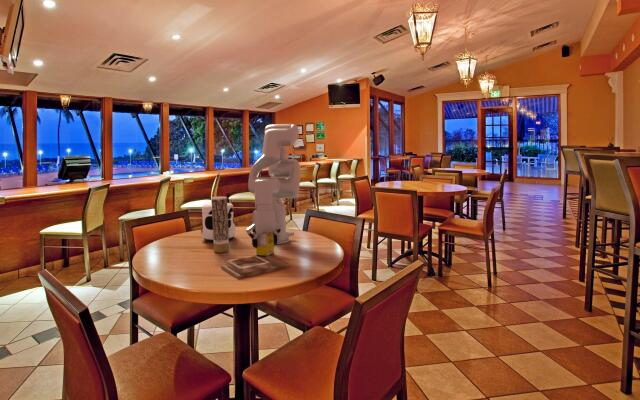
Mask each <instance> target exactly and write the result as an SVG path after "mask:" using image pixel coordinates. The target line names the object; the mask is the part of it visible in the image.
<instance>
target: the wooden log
mask: <svg viewBox="0 0 640 400" xmlns="http://www.w3.org/2000/svg"><path fill="white" fill-rule="evenodd" d="M211 203H212V219H213V240H214V241H213V251H214V252H215V253H218V254H219V253H220V254H221V253H227V252H229V250H230V242H229V241H230V239H229V234H228V210H227V203H228V197H227V196H212V197H211Z"/></svg>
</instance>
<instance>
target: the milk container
mask: <svg viewBox="0 0 640 400" xmlns="http://www.w3.org/2000/svg"><path fill="white" fill-rule="evenodd" d="M227 210H228V234H229V240H232V239H233V238H235V236H236V233H237V229H236V228H237V227H236V225H235V220H234V205H233V204H232V203H229V202H227ZM201 213H202V214H201V215H202V225H201V229H200V231H201V232H200V233H201V236H202V239H203V240H205V241H208V242H214V240H213V219H212V202H211V203H206V204H203V205H202V206H201Z"/></svg>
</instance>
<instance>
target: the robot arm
mask: <svg viewBox="0 0 640 400" xmlns="http://www.w3.org/2000/svg"><path fill="white" fill-rule="evenodd" d="M299 135H300V132H299V127H298V126H297V124H295V123H274V124H268V125H266V126H265V128H264V136H263V143H262V152H261V157H259V158H258V159H257V160H256V161H255V163H254V164H253V165H252V166H251V168H250V171H249V175H248V184H247V185H248V186H247V187H248V191H249V192H250V193H251V194H253V195H254V208H255V210H253V212H252V219H251V225H250V226H249V227H247V228H246V229H245V232H246V234H247V235H248V236H249V237H250V238H251V245H252V248H255V249H256V248H257V247H258V246H257V239H256V238H257V236H258V234H262V233H264V232H270V231H271V232H273V238H274V245H282V244H283V245H285V244H288V243H289V242H290V238H289V237H294V236H295V232H294V231H292V232H290V231H289V232H288V231H286V229H287V228H286V206H285V204H284V202H283V201H282V200H281V199H296V198H298V196H299V194H300V184H301V183H300V182H301V181H300V180H301V164H300V162H299V160H298V159H294V158H287V150H286V148H285V147H292V146H294V145H295V144H296V142H297V140H298V138H299ZM266 168H268V175H269V176H258V175H259V173H260V172H261V171H263V170H265V169H266ZM255 233H256V234H255Z"/></svg>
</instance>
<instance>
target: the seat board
mask: <svg viewBox="0 0 640 400" xmlns="http://www.w3.org/2000/svg"><path fill="white" fill-rule="evenodd" d="M225 263H226V264H222V265H220V268H221V269H222V270H223V271H225V272H226V273H227V274H229V275H231V276H233V277H234V278H236V279H237V280H241V279H245V278H249V277H253V276H258V275H262V274H267V273H272V272H276V271H277V272H278V271H280V270H284V269H290V264H288V263H286V262H284V261H282V260H279V259H278V258H276V257H273V256H272V255H271V256H266V257H261V256H256V254H255V255H249V256H244V257H239V258H238V257H237V258H233V259H227V260H225Z"/></svg>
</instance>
